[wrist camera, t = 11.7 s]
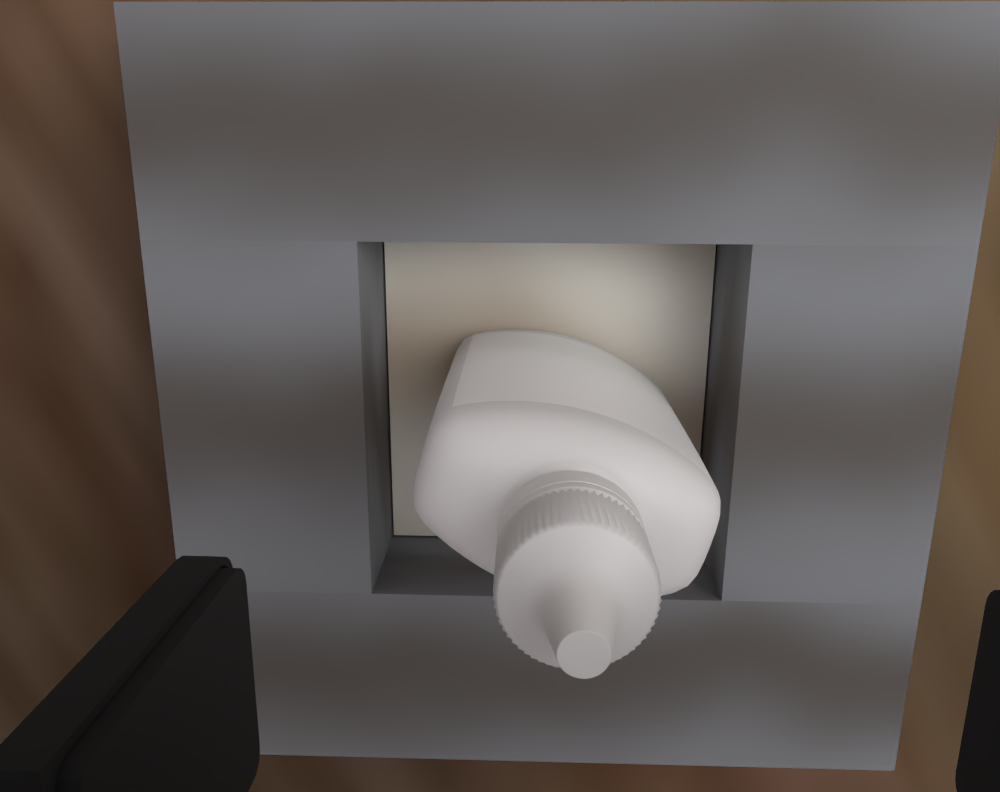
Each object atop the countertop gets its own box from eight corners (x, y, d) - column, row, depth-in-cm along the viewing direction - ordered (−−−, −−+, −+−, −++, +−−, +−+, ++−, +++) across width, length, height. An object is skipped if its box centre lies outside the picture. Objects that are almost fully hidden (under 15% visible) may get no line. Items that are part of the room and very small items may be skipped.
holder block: (843, 686, 24) (894, 770, 21) (242, 673, 25) (197, 752, 22) (933, 29, 19) (1018, 1, 16) (182, 29, 20) (113, 1, 17)
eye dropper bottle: (538, 262, 21) (554, 384, 9) (685, 412, 22) (862, 689, 10) (421, 378, 22) (303, 619, 10) (567, 517, 23) (609, 880, 11)
